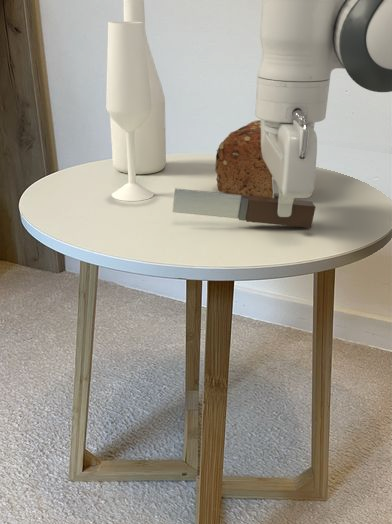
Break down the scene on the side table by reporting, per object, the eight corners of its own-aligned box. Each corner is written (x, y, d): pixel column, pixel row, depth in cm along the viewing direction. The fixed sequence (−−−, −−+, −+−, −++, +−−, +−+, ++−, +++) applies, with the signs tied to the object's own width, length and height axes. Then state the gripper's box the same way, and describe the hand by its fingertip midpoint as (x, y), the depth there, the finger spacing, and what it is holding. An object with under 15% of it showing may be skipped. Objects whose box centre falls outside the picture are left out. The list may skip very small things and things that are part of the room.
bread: (274, 204, 92) (279, 136, 87) (210, 194, 96) (212, 128, 90) (308, 175, 106) (315, 115, 101) (252, 167, 110) (256, 109, 105)
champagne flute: (121, 186, 98) (112, 20, 86) (159, 190, 97) (156, 21, 84) (104, 198, 93) (92, 22, 80) (145, 202, 91) (139, 24, 79)
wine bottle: (165, 161, 113) (162, -26, 97) (166, 175, 105) (163, -27, 89) (114, 162, 112) (103, -27, 97) (111, 175, 104) (99, -29, 88)
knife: (307, 222, 84) (312, 200, 82) (311, 228, 82) (316, 205, 80) (172, 209, 82) (174, 186, 81) (172, 214, 80) (174, 191, 79)
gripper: (336, 118, 66) (320, 238, 73) (301, 90, 83) (291, 189, 90) (279, 118, 66) (269, 238, 73) (255, 90, 83) (249, 189, 90)
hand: (281, 210), depth 82 cm, fingers closed on knife, 2 cm apart
